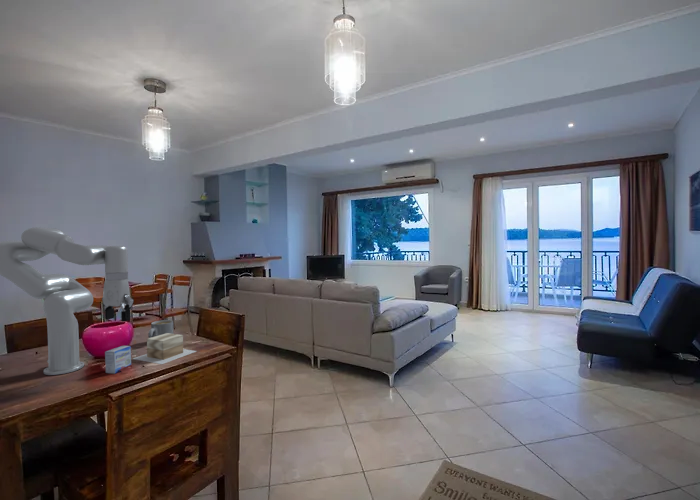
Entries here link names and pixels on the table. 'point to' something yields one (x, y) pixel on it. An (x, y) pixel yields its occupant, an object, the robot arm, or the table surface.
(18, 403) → the table surface
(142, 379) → the table surface
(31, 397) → the table surface
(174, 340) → the birch slab
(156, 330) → the coffee mug
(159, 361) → the base board
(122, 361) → the medicine box
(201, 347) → the table surface
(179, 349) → the oak slab
